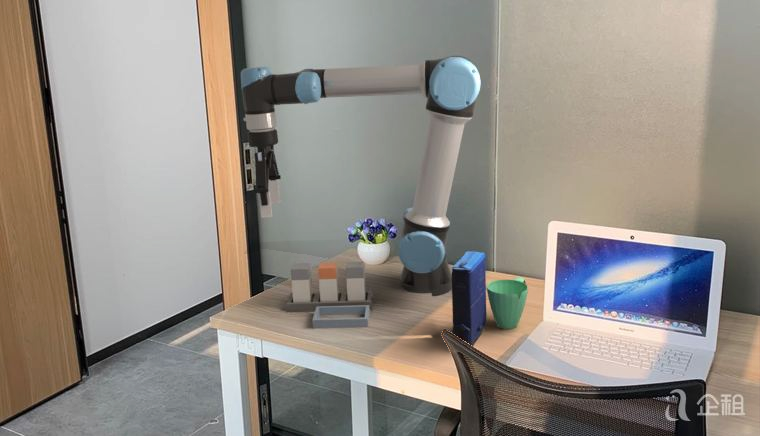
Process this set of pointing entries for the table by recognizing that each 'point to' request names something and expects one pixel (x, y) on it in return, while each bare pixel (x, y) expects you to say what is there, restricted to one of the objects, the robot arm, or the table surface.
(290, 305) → the block
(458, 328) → the book
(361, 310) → the tray
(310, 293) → the block
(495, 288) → the mug
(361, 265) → the block
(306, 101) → the robot arm
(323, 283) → the block
